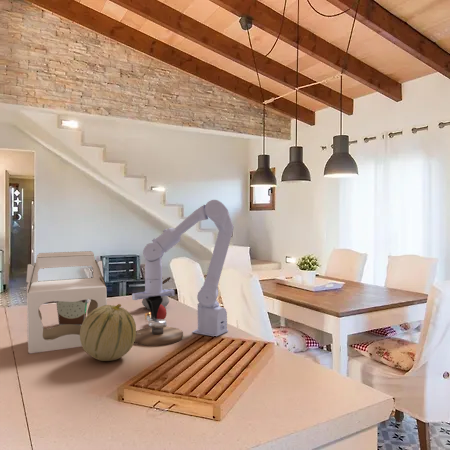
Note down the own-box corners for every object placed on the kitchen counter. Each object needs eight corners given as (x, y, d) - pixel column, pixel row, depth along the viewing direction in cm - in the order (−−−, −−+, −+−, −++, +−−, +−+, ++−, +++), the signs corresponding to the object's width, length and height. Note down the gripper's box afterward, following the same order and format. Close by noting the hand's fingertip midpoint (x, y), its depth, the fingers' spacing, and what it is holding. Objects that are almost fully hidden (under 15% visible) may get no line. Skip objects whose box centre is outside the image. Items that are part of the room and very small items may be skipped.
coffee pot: (138, 307, 177) (137, 272, 177) (162, 304, 183) (162, 270, 183) (157, 317, 159) (156, 278, 159) (184, 313, 165) (183, 276, 165)
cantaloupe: (79, 354, 116) (79, 301, 116) (132, 348, 121) (132, 297, 121) (80, 372, 102) (80, 312, 102) (140, 364, 107) (140, 307, 107)
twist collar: (168, 327, 130) (168, 320, 130) (151, 329, 127) (151, 322, 127) (155, 317, 143) (155, 311, 143) (139, 319, 140) (139, 313, 140)
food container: (94, 321, 154) (94, 294, 153) (87, 325, 147) (87, 297, 147) (63, 320, 155) (63, 293, 155) (54, 324, 149) (54, 297, 148)
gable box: (27, 354, 116) (26, 255, 116) (26, 341, 128) (25, 252, 128) (107, 343, 126) (107, 252, 126) (100, 332, 138) (99, 249, 138)
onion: (158, 326, 145) (157, 303, 145) (147, 323, 149) (146, 301, 149) (169, 323, 150) (169, 301, 150) (158, 320, 153) (158, 299, 153)
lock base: (192, 335, 134) (192, 324, 134) (160, 348, 120) (160, 336, 120) (155, 328, 142) (155, 318, 142) (121, 340, 129) (121, 329, 129)
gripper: (167, 275, 146) (168, 313, 146) (128, 279, 138) (129, 319, 138) (177, 277, 140) (177, 317, 140) (136, 281, 132) (137, 324, 132)
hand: (154, 318), depth 139 cm, fingers closed, pressing on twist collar
